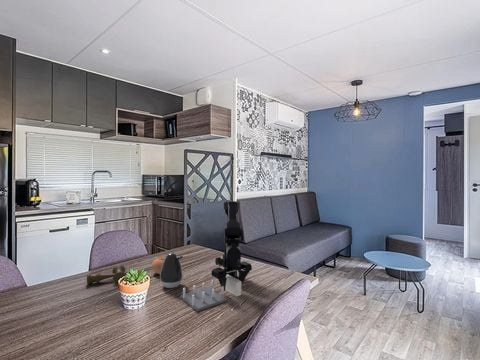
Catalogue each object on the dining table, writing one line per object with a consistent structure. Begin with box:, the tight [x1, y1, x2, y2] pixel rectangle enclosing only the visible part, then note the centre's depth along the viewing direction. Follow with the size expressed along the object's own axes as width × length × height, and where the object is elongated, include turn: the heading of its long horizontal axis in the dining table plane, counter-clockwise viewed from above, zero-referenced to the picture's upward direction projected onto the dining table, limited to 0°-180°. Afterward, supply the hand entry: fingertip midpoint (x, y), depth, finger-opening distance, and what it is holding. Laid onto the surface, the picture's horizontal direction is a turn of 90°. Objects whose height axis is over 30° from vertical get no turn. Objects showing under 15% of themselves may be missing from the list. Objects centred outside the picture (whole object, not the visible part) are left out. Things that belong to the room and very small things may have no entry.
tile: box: [225, 274, 242, 297], centre depth 118 cm, size 2×10×6 cm, turn 39°
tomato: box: [151, 256, 166, 275], centre depth 138 cm, size 11×11×8 cm
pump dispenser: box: [159, 252, 184, 289], centre depth 122 cm, size 10×10×15 cm
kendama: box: [86, 264, 128, 286], centre depth 127 cm, size 6×10×20 cm
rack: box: [180, 279, 228, 312], centre depth 110 cm, size 15×14×5 cm
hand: (231, 288), depth 118 cm, fingers open, 9 cm apart
